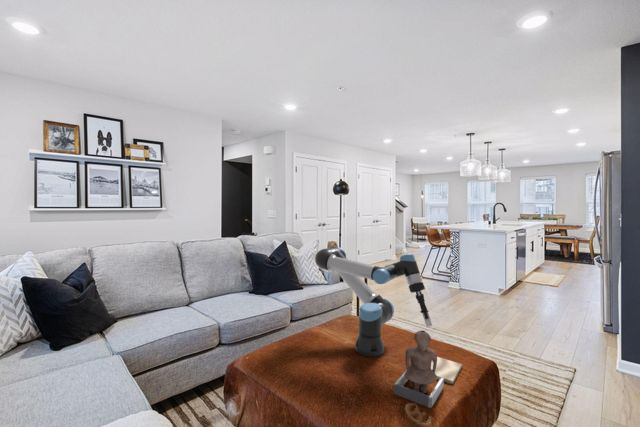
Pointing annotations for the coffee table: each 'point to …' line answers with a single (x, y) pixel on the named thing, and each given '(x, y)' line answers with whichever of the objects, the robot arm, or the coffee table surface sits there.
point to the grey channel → (416, 395)
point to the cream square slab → (446, 370)
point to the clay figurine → (421, 362)
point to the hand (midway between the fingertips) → (429, 326)
